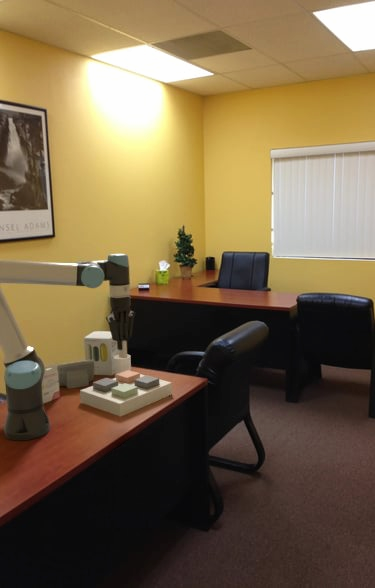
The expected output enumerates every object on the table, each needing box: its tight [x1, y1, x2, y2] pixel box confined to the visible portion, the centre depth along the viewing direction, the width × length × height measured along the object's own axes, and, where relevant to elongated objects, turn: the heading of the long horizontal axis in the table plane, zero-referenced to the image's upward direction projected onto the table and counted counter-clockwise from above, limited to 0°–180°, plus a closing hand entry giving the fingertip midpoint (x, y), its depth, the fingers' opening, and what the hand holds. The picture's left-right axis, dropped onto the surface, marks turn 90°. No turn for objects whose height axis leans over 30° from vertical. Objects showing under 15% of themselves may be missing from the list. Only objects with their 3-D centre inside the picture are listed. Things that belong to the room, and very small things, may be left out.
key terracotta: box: [116, 370, 141, 384], centre depth 213 cm, size 7×7×5 cm
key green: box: [111, 383, 138, 399], centre depth 197 cm, size 7×7×5 cm
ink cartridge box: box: [42, 362, 61, 405], centre depth 206 cm, size 9×5×15 cm, turn 143°
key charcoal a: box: [92, 377, 118, 392], centre depth 204 cm, size 7×7×5 cm
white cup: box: [113, 353, 132, 378], centre depth 230 cm, size 8×8×10 cm
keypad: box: [79, 373, 173, 418], centre depth 206 cm, size 28×23×5 cm
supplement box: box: [83, 330, 119, 376], centre depth 241 cm, size 13×13×18 cm
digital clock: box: [57, 359, 95, 390], centre depth 223 cm, size 16×9×11 cm, turn 103°
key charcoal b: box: [134, 374, 160, 390], centre depth 206 cm, size 7×7×5 cm
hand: (123, 357), depth 195 cm, fingers closed
